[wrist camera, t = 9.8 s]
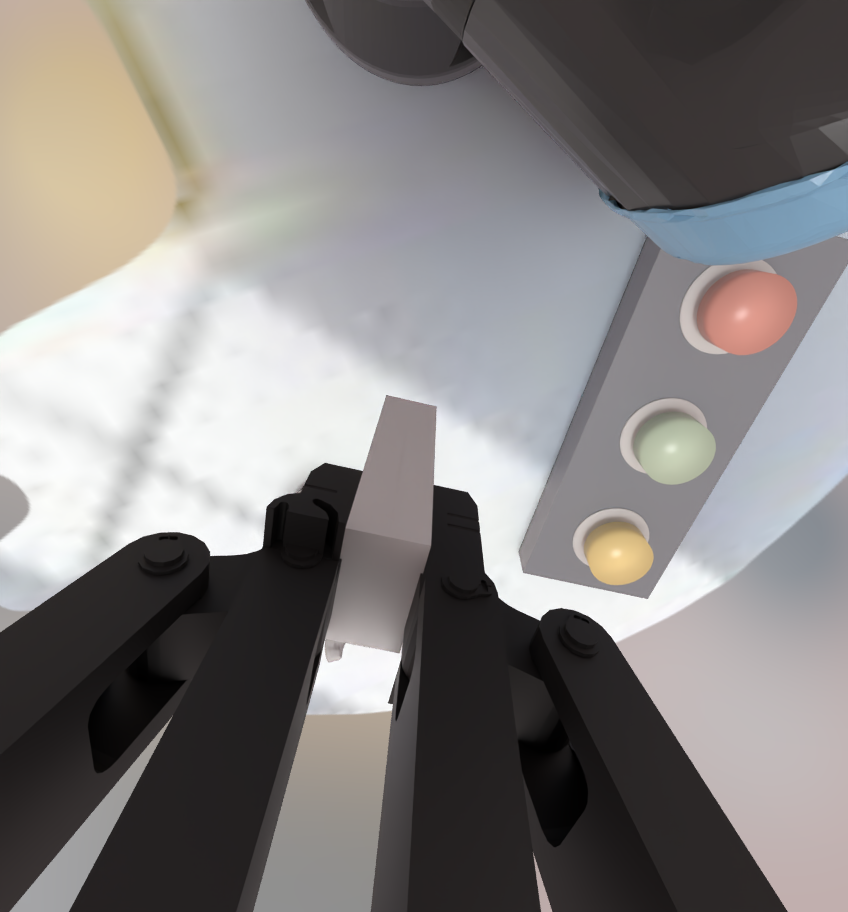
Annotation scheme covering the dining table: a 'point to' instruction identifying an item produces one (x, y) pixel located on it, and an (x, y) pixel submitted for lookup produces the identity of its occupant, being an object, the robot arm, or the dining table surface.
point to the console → (662, 409)
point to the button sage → (674, 448)
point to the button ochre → (618, 553)
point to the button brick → (747, 311)
